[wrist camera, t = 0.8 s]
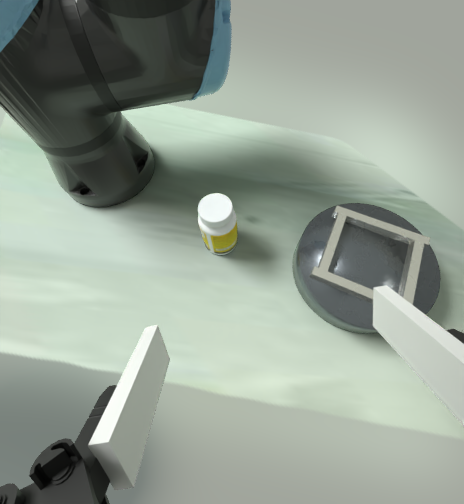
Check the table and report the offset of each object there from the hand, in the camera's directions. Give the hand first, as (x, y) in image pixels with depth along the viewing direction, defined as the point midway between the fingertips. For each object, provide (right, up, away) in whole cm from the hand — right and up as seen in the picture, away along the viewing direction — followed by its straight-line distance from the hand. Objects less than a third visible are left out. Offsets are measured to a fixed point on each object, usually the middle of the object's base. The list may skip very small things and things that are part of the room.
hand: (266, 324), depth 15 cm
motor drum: (+14, +2, +18) cm, 23 cm away
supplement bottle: (-4, +6, +20) cm, 22 cm away
